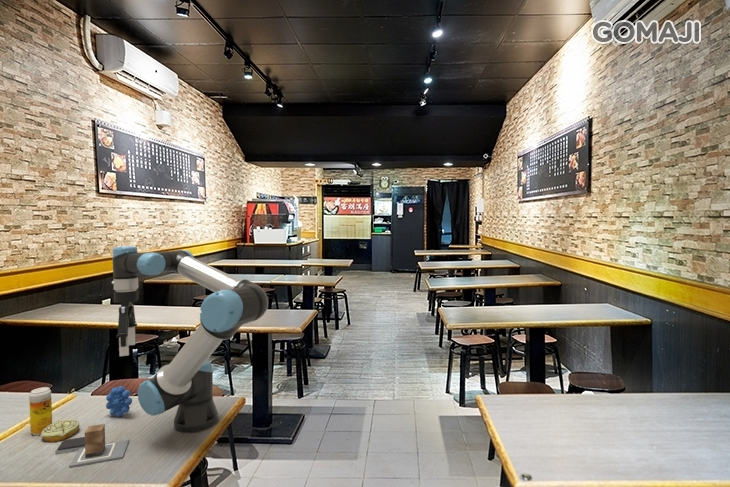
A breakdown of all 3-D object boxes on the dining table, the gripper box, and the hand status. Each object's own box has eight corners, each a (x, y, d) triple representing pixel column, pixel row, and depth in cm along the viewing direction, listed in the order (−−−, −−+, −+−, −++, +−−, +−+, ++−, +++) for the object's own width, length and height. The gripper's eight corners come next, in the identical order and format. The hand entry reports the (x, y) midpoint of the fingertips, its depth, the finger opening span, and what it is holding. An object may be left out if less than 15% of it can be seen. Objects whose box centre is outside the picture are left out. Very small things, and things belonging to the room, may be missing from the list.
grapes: (140, 413, 161) (140, 383, 160) (126, 421, 154) (125, 389, 154) (116, 410, 164) (115, 380, 163) (101, 417, 157) (100, 386, 157)
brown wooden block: (105, 448, 135) (104, 423, 134) (102, 455, 130) (101, 430, 130) (89, 450, 133) (88, 426, 133) (85, 458, 129) (84, 432, 128)
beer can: (40, 436, 143) (38, 394, 143) (26, 435, 144) (24, 392, 144) (56, 428, 149) (55, 387, 149) (42, 427, 150) (41, 386, 150)
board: (128, 441, 140) (128, 439, 140) (122, 458, 130) (122, 455, 130) (79, 449, 135) (79, 447, 135) (69, 467, 125) (69, 465, 125)
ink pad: (93, 438, 142) (93, 434, 142) (88, 448, 135) (88, 444, 135) (62, 443, 139) (62, 439, 139) (55, 454, 132) (55, 450, 132)
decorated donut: (33, 444, 139) (33, 433, 139) (55, 428, 150) (55, 418, 150) (66, 442, 140) (65, 431, 140) (85, 427, 150) (85, 417, 150)
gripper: (120, 286, 156) (122, 342, 157) (105, 296, 133) (107, 361, 134) (143, 285, 159) (144, 340, 160) (132, 294, 136) (134, 359, 136)
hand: (127, 350), depth 147 cm, fingers open, 13 cm apart
